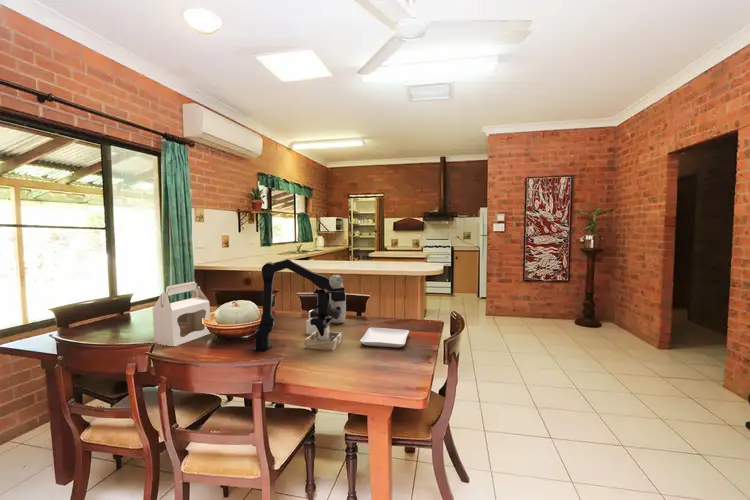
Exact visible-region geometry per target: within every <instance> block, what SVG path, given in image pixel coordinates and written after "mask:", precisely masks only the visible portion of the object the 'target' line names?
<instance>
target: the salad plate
mask: <svg viewBox="0 0 750 500" xmlns="http://www.w3.org/2000/svg"><path fill="white" fill-rule="evenodd" d="M409 333H410V330H408V329H401V328H400V329H398V328H388V327H387V328H385V327H384V328H383V327H368V329H367V330H366V332H365V333H364V334H363V336H362V337H361V339H360V340H359V343H360V344H362V345H365V346H370V347H382V348H402V347H404V346H405V344H406V341H407V338H408V335H409Z"/></svg>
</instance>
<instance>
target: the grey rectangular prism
mask: <svg viewBox="0 0 750 500" xmlns="http://www.w3.org/2000/svg"><path fill="white" fill-rule="evenodd" d="M329 332H330V322H328V323H327V324H326V325H325V329H324V336H321V335H320V333H319V331H318V337H319V340H329Z"/></svg>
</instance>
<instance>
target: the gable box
mask: <svg viewBox="0 0 750 500" xmlns="http://www.w3.org/2000/svg"><path fill="white" fill-rule="evenodd" d="M164 289H165V290H164V292H162V293H160V296H159V297H158V299H157V301H156V302H155V304H154V306H153V307H152V322H153V325H152V327H153V340H154V341H153V343H154V342H158V343H157V344H156V345H160V344H161V346H166V345H167V346H166V347H171V346H172V347H173V346H175V347H178V346H180V345H182V344H185V343H188V342H191V341H193V340H194V341H195V340H196V339H200V338H202V337H205V336H207V335H210V334H211V333H210V332H209V330H208V329H207V327H206V326H205V325H203V324H202V318H204V320H210V321H211V310H210V309H211V308H210V307H211V305H210V300H209V299H208V297H207V296H206V295H205V293H204V292H203V290H201V287H200V285H199V286H198V283H196V281H193V280H192V281H188V282H181V283H177V284H171V285H167V286H166V287H165V288H164ZM186 292H192V294H191V297H190V298H185V299H182V300H177V301H173V302H171V301H170V298H169V296H172V295H176V294H177V295H178V294H182V293H186ZM182 315H186V316H185V323H186V325H185V326H184V327H180V326H179V323H178V319H179V317H181V316H182Z"/></svg>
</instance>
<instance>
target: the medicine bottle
mask: <svg viewBox="0 0 750 500" xmlns="http://www.w3.org/2000/svg"><path fill="white" fill-rule="evenodd" d="M316 314H317V308H315V309H311V310H309V311H308V319H307V320H306V324H305V325H306V326H305V328H306V335H311V334H312V333H314V332H315V331H318V329H317V327H316V326H315V325H311V324H310V320H311V319H312V318H314V317H319V316H316Z"/></svg>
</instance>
